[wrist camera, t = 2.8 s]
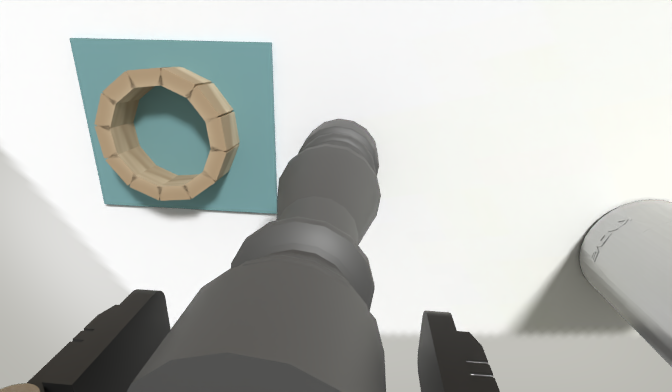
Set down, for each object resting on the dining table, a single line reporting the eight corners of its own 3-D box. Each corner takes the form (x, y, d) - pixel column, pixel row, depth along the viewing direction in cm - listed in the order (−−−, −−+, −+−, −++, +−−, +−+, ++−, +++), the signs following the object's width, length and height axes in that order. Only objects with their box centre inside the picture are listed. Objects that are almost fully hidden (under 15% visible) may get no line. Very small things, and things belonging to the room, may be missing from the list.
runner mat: (271, 42, 28) (270, 42, 28) (277, 211, 33) (276, 213, 33) (73, 38, 29) (69, 38, 29) (107, 202, 34) (104, 204, 34)
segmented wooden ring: (255, 102, 29) (243, 107, 27) (215, 206, 33) (201, 219, 30) (137, 45, 29) (111, 43, 26) (109, 157, 32) (84, 166, 29)
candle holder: (288, 157, 31) (48, 451, 8) (338, 102, 29) (212, 276, 6) (342, 205, 32) (270, 587, 9) (393, 155, 30) (471, 477, 7)
